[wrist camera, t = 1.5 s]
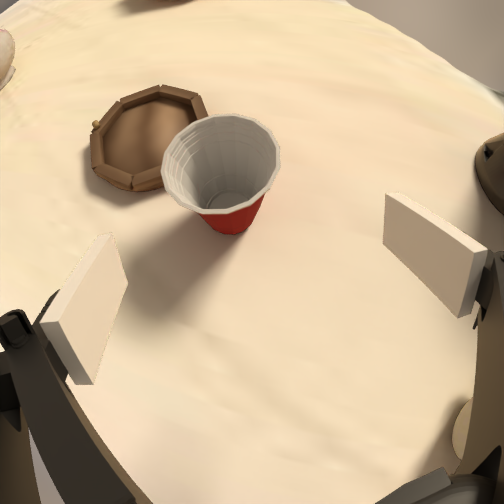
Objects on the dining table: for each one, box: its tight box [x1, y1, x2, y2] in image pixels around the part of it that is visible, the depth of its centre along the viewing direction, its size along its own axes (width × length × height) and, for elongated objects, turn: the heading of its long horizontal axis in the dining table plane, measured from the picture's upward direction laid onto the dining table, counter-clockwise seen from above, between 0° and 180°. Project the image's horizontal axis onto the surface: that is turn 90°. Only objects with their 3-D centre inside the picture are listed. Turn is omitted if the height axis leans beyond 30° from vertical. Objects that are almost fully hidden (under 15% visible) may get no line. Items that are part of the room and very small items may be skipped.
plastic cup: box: [161, 113, 280, 234], centre depth 33 cm, size 11×11×12 cm
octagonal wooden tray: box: [90, 85, 208, 192], centre depth 40 cm, size 17×17×4 cm
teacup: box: [452, 397, 473, 460], centre depth 26 cm, size 14×11×8 cm
